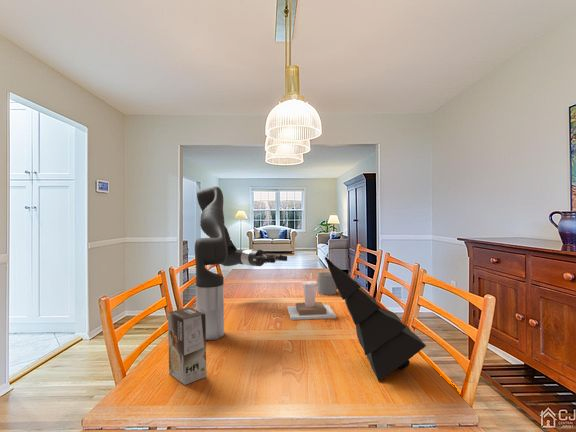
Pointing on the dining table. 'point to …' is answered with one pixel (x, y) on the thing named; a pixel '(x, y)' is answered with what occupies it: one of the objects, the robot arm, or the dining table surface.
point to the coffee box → (187, 345)
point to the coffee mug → (326, 284)
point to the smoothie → (309, 292)
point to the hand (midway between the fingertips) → (281, 259)
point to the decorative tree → (376, 327)
